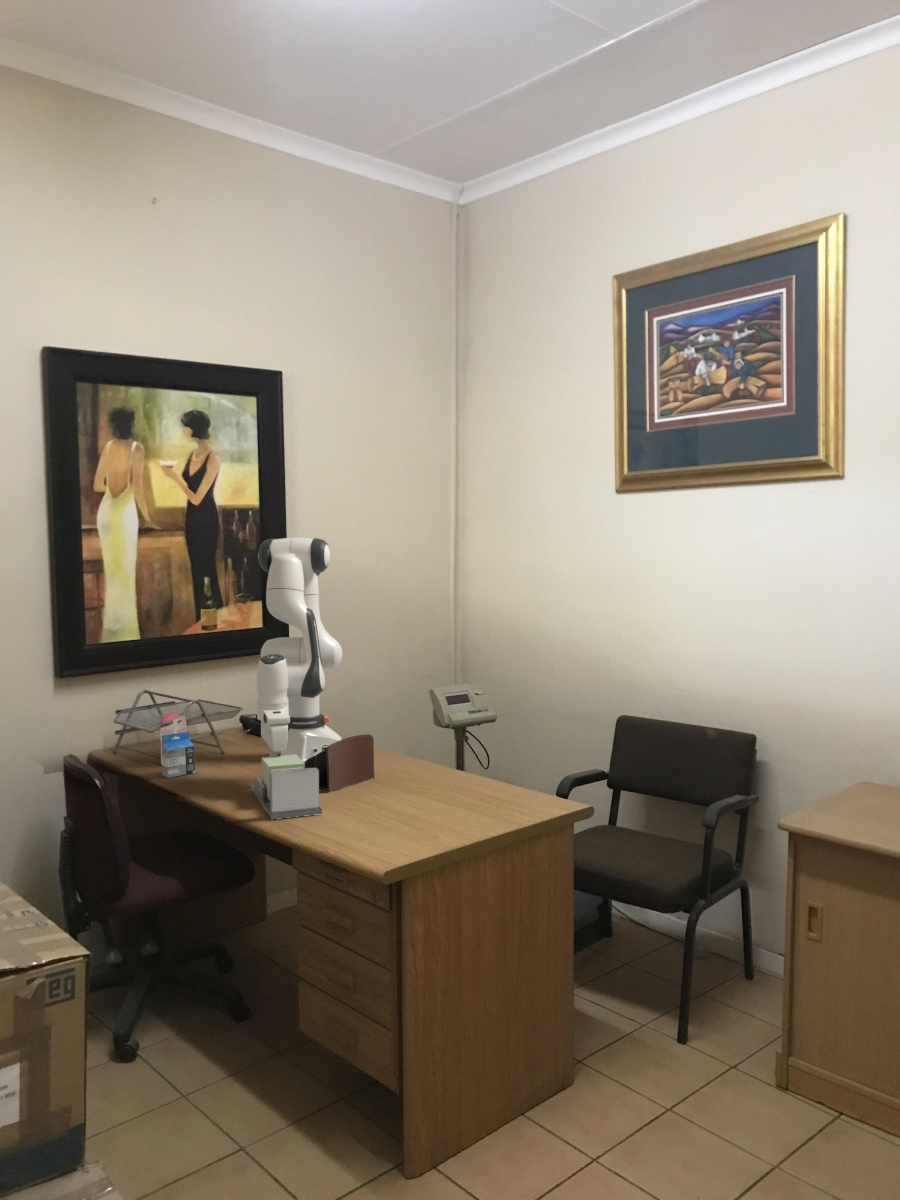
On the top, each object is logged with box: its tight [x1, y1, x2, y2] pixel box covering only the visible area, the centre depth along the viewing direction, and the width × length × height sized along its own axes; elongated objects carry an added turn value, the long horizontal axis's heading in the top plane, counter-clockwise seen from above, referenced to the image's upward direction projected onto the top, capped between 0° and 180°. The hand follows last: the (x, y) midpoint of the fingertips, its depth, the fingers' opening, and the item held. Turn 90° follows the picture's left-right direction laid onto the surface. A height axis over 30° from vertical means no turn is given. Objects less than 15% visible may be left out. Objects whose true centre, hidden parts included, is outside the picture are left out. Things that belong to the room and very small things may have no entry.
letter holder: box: [305, 734, 375, 793], centre depth 274 cm, size 10×20×14 cm, turn 144°
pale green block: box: [261, 754, 305, 800], centre depth 256 cm, size 12×10×9 cm
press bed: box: [251, 768, 323, 820], centre depth 254 cm, size 29×13×12 cm, turn 21°
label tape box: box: [161, 730, 196, 779], centre depth 282 cm, size 9×4×12 cm, turn 131°
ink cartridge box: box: [159, 714, 188, 765], centre depth 295 cm, size 9×5×15 cm, turn 169°
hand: (273, 760), depth 269 cm, fingers closed
